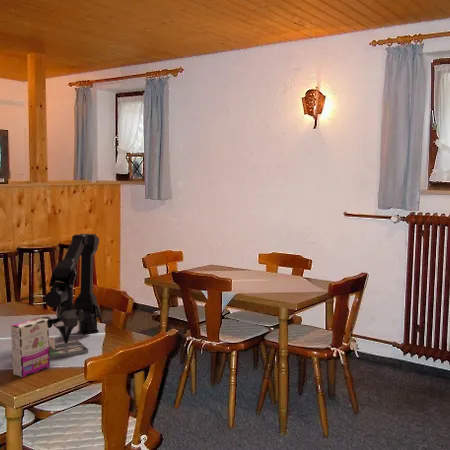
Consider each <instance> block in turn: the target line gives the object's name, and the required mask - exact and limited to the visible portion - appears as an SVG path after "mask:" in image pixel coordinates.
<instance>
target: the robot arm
mask: <svg viewBox="0 0 450 450" xmlns="http://www.w3.org/2000/svg"><path fill="white" fill-rule="evenodd" d="M99 244H100V238H99V236H97V234H96V233H79V234H78V233H77V234H73V235H72V237H71V242H70V245H69V247H68V248H67V251H66V254H65V256H64V258H63V259H62V260H60V261H59V262H58V263H56V265H55V267H54V269H52V272H51V276H50V280H49V283H48V287H49V288H50V290H49V291H48V292H47V293H46V294H45V297H44V301H45V304H46V305H47V306H48V307H49V308H56V314H55V315H56V318H55V317H54V318H51V317H50V316H42V317H41V318H44V319H48V329H50V328H52V326H53V327H55V328H56V329H57V330H58V331H59V333H60V336H61V339H62V340H63V341H62V342H64V343H67V342H68V341H70V336H71V335H72V334H71V333H72V331H73V330H74V328H75V327H77V326H78V331H79V333H81V334H82V335H86V334H87V335H88V334H94V333H98V332H100V331H99V330H98V318H101V312H102V311H101V308H100V307H99V306H100V305H99V304H98V302H97V301H98V300H97V297H96V295H95V293H94V292H93V291H94V256H95V254H96V253H97V251H98V249H99ZM79 259H80V292H79V295H78V296H77V297H76V298H75V304H74V287H75V282H76V279H77V276H78V272H77V268H76V266H77V263H78V261H79Z"/></svg>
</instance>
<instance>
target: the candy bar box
mask: <svg viewBox="0 0 450 450" xmlns="http://www.w3.org/2000/svg"><path fill="white" fill-rule="evenodd" d="M10 334H11V337H10V338H11V351H12V352H11V355H12V357H11V358H12V373H13V376H17V377H19V378H24V377H27V376H31V375H32V374H35V373H39V372H41V371H43V370H45V369H48V368H50V367H51V361H50V360H51V359H50V355H49V337H50V335H49V334H50V333H49V328H48V319H44V318H41V317H40V316H39V317H35V318H32V319H28V320H26V321H22V322H17V323H15V324H11V325H10Z"/></svg>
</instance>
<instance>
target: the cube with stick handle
mask: <svg viewBox="0 0 450 450" xmlns="http://www.w3.org/2000/svg"><path fill="white" fill-rule="evenodd" d="M55 343H56V340H55V338H54V337H53V336H49V350H51V351H53V349H55Z"/></svg>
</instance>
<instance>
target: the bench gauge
mask: <svg viewBox="0 0 450 450" xmlns="http://www.w3.org/2000/svg"><path fill="white" fill-rule="evenodd" d="M88 353H89V349H88V348H87V347H86V346H85V344H83V343H82V342H80V340H78V339H71V340H68V342H67V343H64V341H62V342H61V341H60V342H55V349H53V351H51V350H49V355H50V360H56V359H60V358H66V357H71V356H77V355H82V354H83V355H84V354H88Z"/></svg>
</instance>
